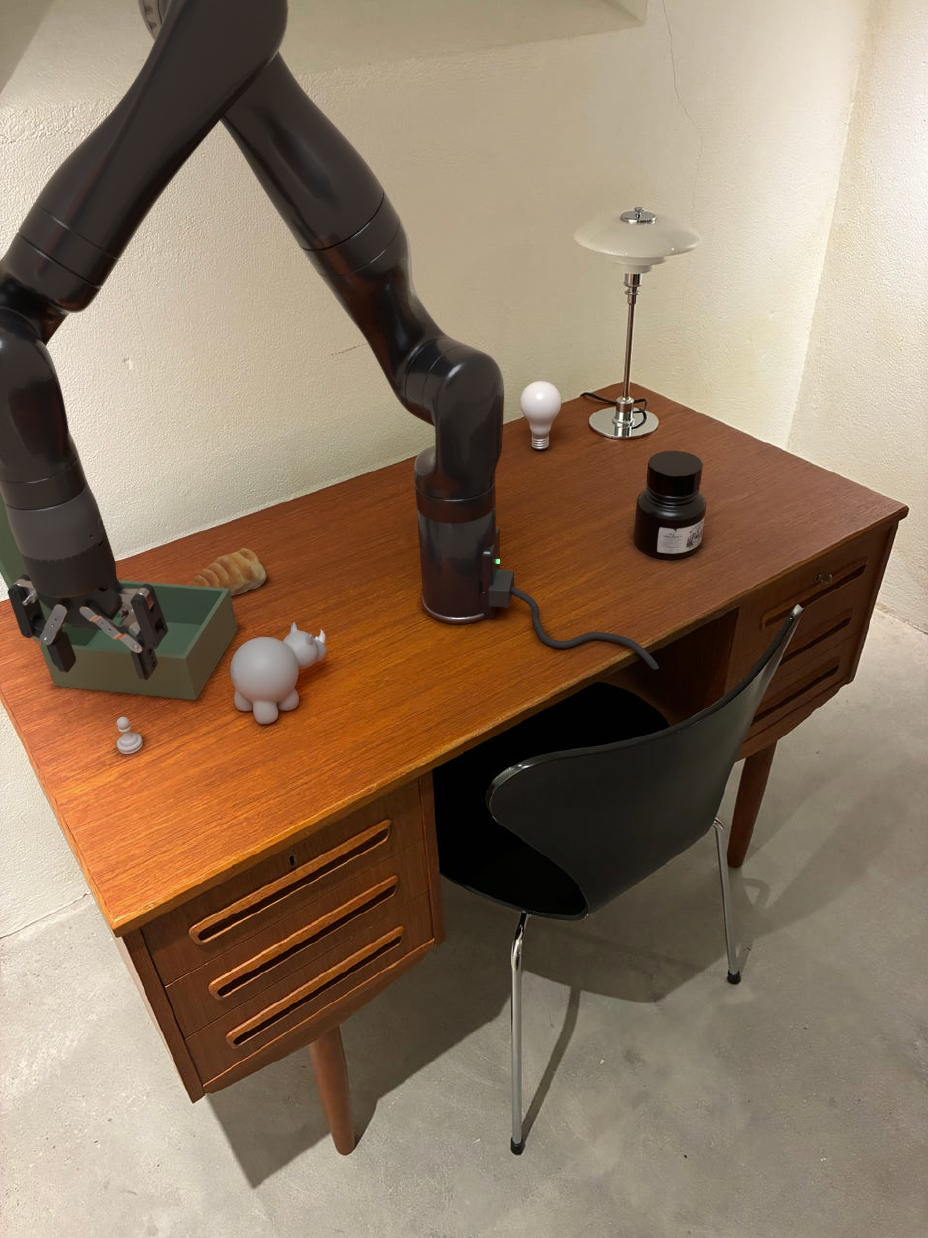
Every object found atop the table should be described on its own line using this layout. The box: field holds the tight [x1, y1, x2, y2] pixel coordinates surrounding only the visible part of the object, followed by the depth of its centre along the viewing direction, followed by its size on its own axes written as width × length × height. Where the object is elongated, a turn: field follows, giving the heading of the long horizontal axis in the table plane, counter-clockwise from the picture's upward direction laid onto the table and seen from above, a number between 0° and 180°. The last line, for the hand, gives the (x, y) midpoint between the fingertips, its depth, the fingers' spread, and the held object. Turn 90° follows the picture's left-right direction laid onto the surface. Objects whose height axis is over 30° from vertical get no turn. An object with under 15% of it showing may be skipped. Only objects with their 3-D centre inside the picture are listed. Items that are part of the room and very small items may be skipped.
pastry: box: [189, 547, 267, 597], centre depth 127 cm, size 9×7×4 cm
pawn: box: [116, 716, 144, 755], centre depth 104 cm, size 3×3×4 cm
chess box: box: [39, 579, 239, 701], centre depth 115 cm, size 17×13×6 cm
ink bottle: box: [633, 450, 707, 560], centre depth 129 cm, size 10×9×12 cm
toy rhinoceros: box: [229, 622, 327, 725], centre depth 108 cm, size 7×12×8 cm, turn 135°
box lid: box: [0, 492, 52, 643], centre depth 109 cm, size 18×13×1 cm
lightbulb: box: [519, 380, 563, 451], centre depth 152 cm, size 6×6×11 cm
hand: (108, 670), depth 99 cm, fingers open, 8 cm apart
